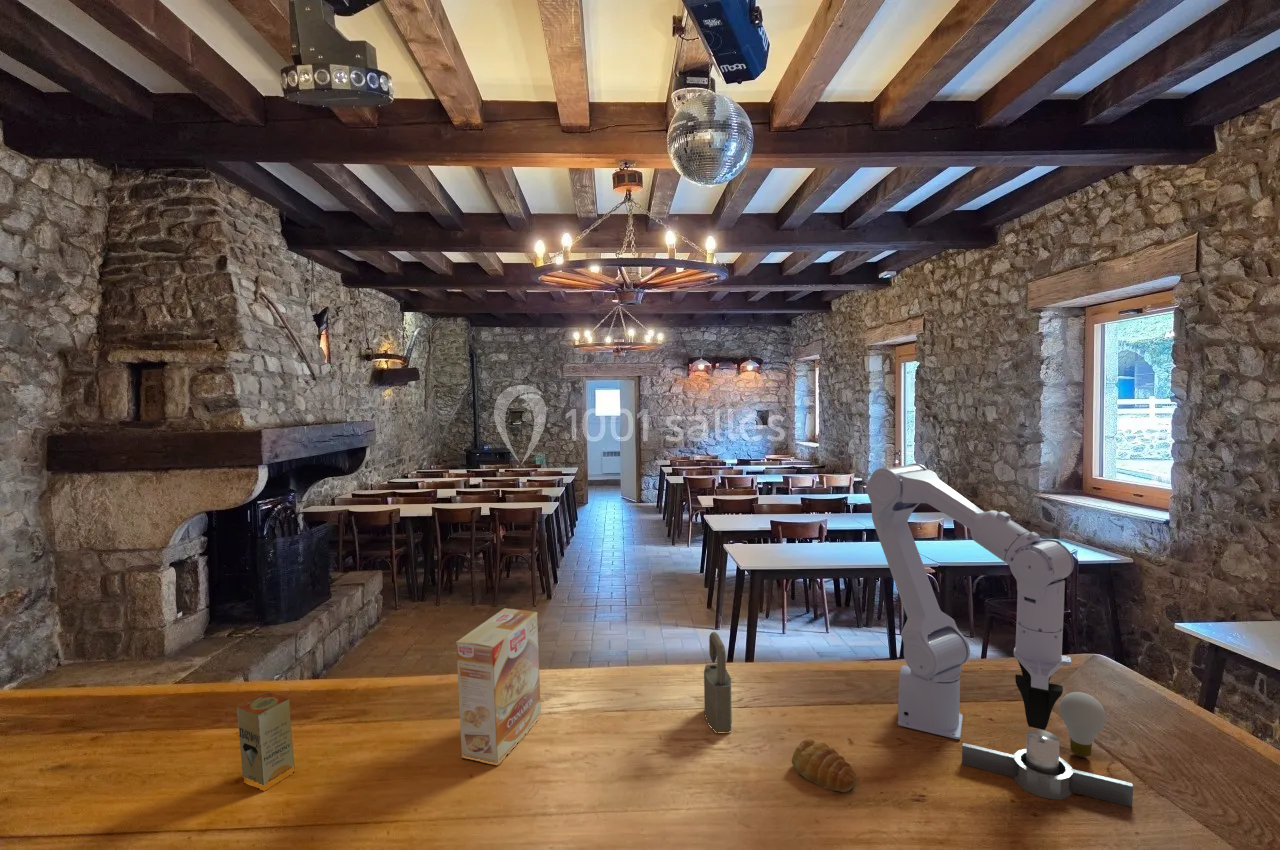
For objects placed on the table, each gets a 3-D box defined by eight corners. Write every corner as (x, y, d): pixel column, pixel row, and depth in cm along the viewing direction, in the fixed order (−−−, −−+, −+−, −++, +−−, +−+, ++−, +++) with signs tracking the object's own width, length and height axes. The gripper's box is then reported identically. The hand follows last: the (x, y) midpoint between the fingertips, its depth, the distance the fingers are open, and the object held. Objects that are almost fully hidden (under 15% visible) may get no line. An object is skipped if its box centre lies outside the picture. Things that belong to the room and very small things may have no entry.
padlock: (723, 707, 116) (722, 626, 115) (735, 732, 108) (734, 646, 106) (701, 709, 115) (700, 628, 114) (712, 734, 107) (710, 648, 106)
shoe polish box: (274, 764, 102) (268, 692, 101) (294, 772, 100) (289, 698, 99) (243, 783, 98) (236, 707, 97) (264, 791, 96) (257, 714, 94)
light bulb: (1111, 770, 96) (1114, 705, 95) (1067, 766, 97) (1070, 702, 96) (1092, 746, 101) (1095, 686, 101) (1051, 743, 103) (1053, 683, 102)
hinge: (960, 775, 95) (961, 756, 95) (963, 750, 101) (963, 732, 101) (1136, 821, 85) (1137, 800, 85) (1127, 790, 91) (1128, 770, 91)
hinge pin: (1027, 787, 92) (1028, 741, 92) (1024, 771, 96) (1025, 726, 95) (1060, 795, 91) (1061, 747, 90) (1056, 778, 94) (1057, 732, 94)
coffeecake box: (498, 767, 100) (493, 646, 98) (459, 759, 102) (453, 641, 101) (543, 717, 114) (539, 610, 112) (508, 711, 116) (503, 606, 115)
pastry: (866, 783, 94) (866, 758, 94) (838, 803, 90) (838, 777, 90) (814, 753, 102) (814, 730, 102) (786, 770, 98) (786, 746, 98)
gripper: (1077, 650, 85) (1072, 747, 86) (1068, 612, 97) (1064, 697, 99) (1015, 639, 88) (1011, 733, 90) (1014, 604, 101) (1011, 687, 102)
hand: (1035, 714), depth 94 cm, fingers open, 7 cm apart
